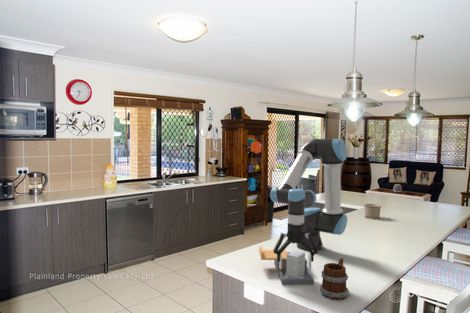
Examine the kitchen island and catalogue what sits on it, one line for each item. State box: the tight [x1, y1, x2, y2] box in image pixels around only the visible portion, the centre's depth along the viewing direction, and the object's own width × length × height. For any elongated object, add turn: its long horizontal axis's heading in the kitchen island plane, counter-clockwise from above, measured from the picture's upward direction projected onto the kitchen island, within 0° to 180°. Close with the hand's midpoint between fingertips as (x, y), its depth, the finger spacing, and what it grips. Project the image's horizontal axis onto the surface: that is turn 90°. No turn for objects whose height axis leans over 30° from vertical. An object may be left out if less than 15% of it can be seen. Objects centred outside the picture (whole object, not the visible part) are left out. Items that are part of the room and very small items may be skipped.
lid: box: [258, 245, 288, 261], centre depth 166 cm, size 14×12×3 cm
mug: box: [319, 257, 350, 301], centre depth 140 cm, size 12×14×15 cm
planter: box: [363, 203, 382, 219], centre depth 274 cm, size 13×13×10 cm
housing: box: [273, 251, 315, 286], centre depth 160 cm, size 14×25×6 cm, turn 1°
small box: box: [286, 249, 306, 278], centre depth 155 cm, size 8×6×10 cm
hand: (294, 268), depth 155 cm, fingers open, 13 cm apart
